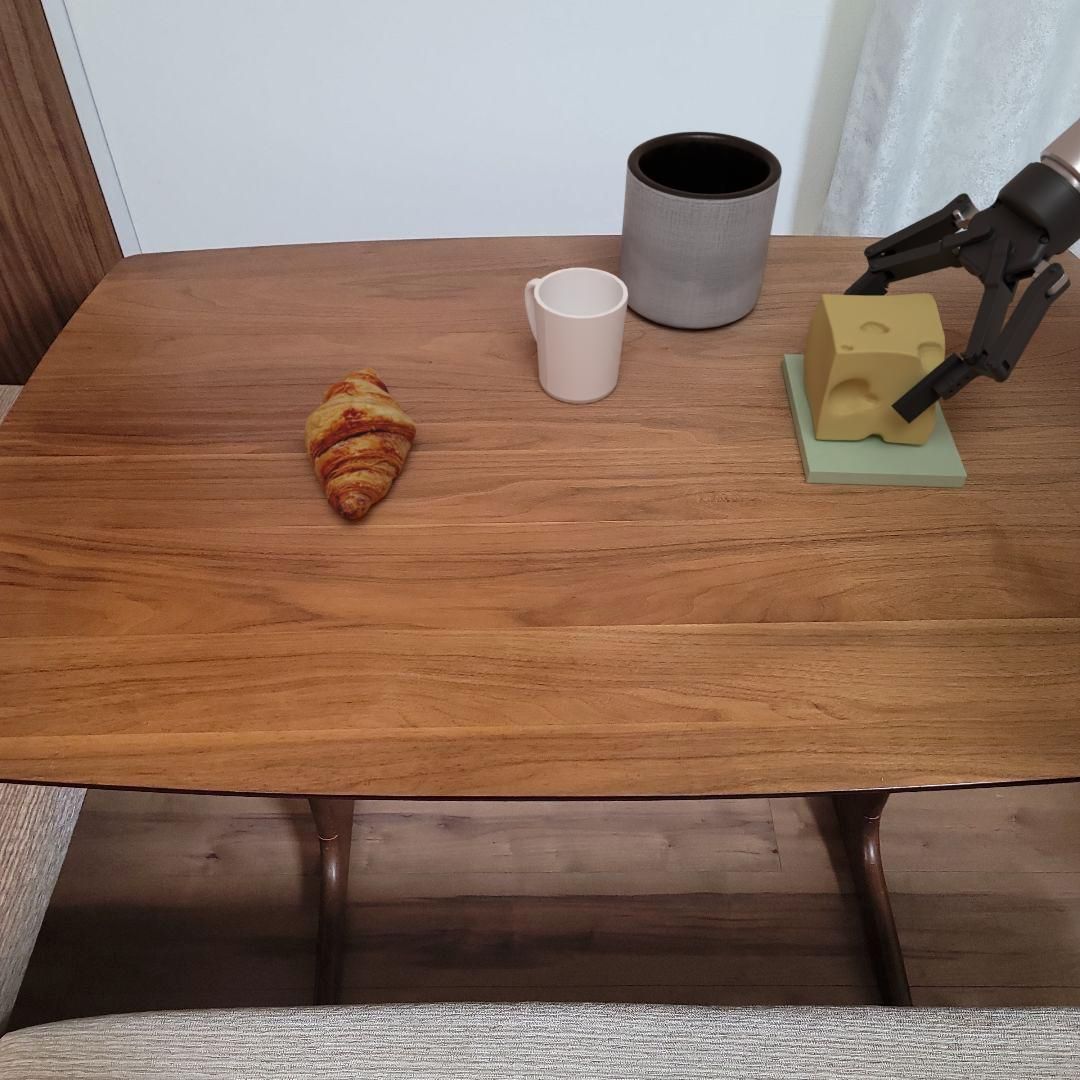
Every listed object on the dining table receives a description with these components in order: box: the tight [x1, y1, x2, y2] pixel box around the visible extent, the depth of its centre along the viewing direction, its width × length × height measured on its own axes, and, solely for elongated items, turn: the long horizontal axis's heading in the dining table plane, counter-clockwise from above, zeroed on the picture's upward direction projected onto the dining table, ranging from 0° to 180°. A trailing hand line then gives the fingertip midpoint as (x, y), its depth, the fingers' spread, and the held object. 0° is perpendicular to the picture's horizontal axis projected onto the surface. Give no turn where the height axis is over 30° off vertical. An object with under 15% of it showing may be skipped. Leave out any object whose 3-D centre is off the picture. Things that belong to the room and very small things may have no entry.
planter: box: [617, 131, 783, 330], centre depth 100 cm, size 16×16×16 cm
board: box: [781, 353, 968, 489], centre depth 90 cm, size 18×14×2 cm
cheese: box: [803, 292, 946, 445], centre depth 85 cm, size 10×11×10 cm
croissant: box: [303, 366, 417, 521], centre depth 85 cm, size 21×10×8 cm, turn 5°
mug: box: [523, 267, 628, 405], centre depth 92 cm, size 11×9×10 cm
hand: (860, 372), depth 85 cm, fingers closed on cheese, 12 cm apart
